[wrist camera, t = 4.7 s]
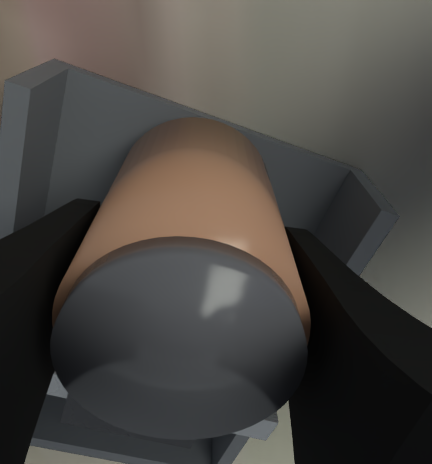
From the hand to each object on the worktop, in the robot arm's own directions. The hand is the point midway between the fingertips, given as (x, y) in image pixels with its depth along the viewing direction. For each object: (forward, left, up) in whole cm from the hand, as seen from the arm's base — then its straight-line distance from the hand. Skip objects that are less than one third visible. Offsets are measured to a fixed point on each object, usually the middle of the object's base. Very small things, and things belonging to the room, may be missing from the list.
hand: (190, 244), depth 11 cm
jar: (0, 0, -3) cm, 3 cm away
